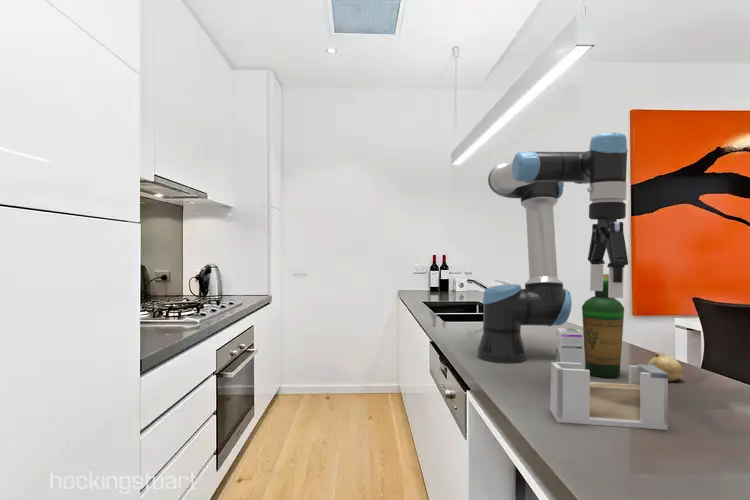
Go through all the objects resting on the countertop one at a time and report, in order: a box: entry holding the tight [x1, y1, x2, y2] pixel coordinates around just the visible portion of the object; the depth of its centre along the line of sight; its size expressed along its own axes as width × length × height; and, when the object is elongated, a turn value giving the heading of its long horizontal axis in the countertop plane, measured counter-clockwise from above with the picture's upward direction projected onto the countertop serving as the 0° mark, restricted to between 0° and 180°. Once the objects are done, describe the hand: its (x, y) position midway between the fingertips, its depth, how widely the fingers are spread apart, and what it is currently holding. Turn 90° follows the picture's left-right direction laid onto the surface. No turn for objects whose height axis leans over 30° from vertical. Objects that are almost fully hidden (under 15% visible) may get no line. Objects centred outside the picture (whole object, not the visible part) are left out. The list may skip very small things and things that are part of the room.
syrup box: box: [555, 327, 585, 370], centre depth 113 cm, size 6×6×14 cm
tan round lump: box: [647, 352, 683, 383], centre depth 121 cm, size 8×8×7 cm
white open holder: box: [549, 361, 669, 431], centre depth 91 cm, size 7×20×11 cm, turn 80°
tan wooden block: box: [590, 381, 640, 420], centre depth 91 cm, size 4×14×6 cm, turn 80°
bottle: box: [581, 273, 625, 379], centre depth 125 cm, size 11×11×28 cm
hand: (605, 294), depth 104 cm, fingers open, 13 cm apart
